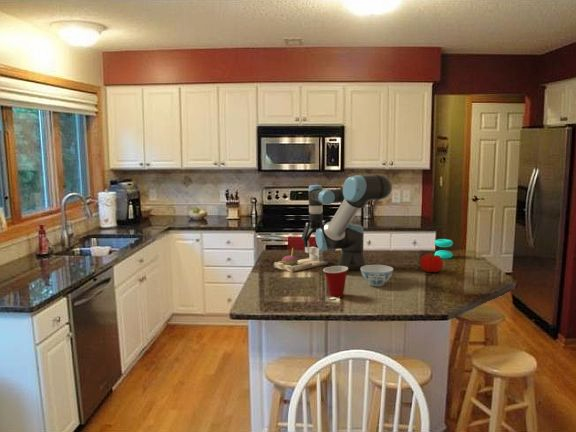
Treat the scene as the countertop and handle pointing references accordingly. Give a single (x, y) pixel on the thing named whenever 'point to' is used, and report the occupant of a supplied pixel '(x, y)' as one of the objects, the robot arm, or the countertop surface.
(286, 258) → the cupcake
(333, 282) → the plastic cup
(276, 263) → the wooden tray
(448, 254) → the pair of cyan discs
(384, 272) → the chinaware
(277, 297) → the countertop surface
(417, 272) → the countertop surface
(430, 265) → the tomato
